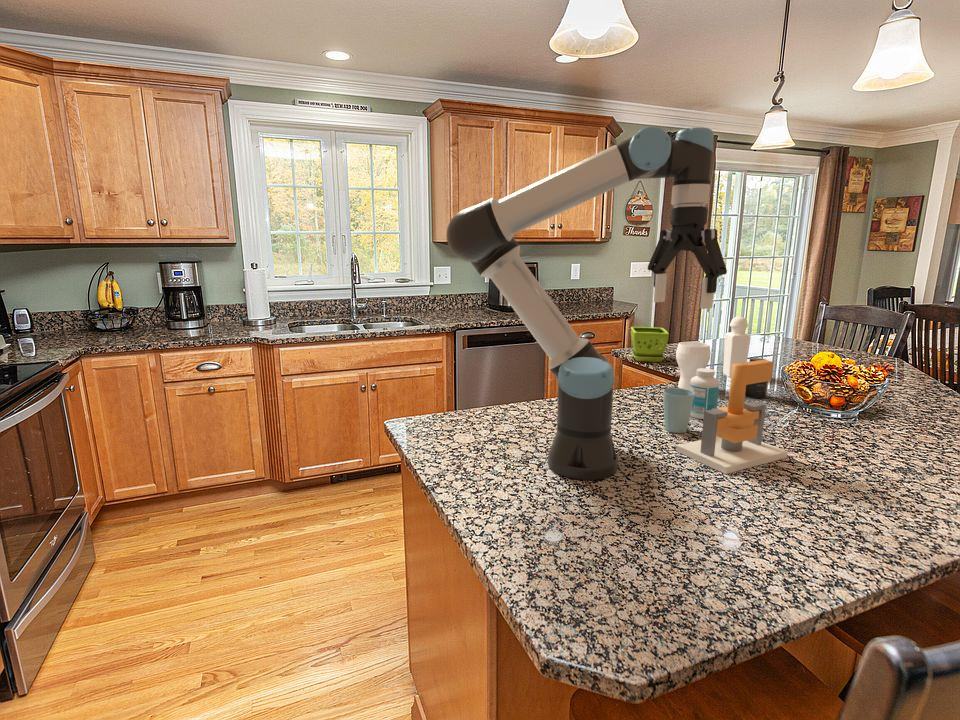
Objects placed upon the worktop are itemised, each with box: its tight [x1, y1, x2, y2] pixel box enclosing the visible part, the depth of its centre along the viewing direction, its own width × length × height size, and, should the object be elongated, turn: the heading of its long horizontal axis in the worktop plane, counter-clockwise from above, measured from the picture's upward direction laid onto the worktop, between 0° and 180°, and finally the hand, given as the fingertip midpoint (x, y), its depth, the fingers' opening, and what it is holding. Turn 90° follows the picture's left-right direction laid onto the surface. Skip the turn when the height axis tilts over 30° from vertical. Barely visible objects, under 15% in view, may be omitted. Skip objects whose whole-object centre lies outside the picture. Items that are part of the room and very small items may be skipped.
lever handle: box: [716, 359, 774, 443], centre depth 122 cm, size 8×16×17 cm, turn 116°
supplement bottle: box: [745, 357, 769, 399], centre depth 169 cm, size 7×7×12 cm
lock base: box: [675, 401, 789, 475], centre depth 123 cm, size 20×14×11 cm
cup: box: [662, 387, 695, 434], centre depth 139 cm, size 8×8×10 cm
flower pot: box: [630, 326, 670, 363], centre depth 221 cm, size 14×14×13 cm
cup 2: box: [675, 341, 712, 390], centre depth 178 cm, size 11×11×15 cm
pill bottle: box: [690, 367, 720, 420], centre depth 150 cm, size 8×7×14 cm
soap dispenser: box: [722, 315, 752, 378], centre depth 193 cm, size 6×6×22 cm
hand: (681, 305), depth 119 cm, fingers open, 13 cm apart
